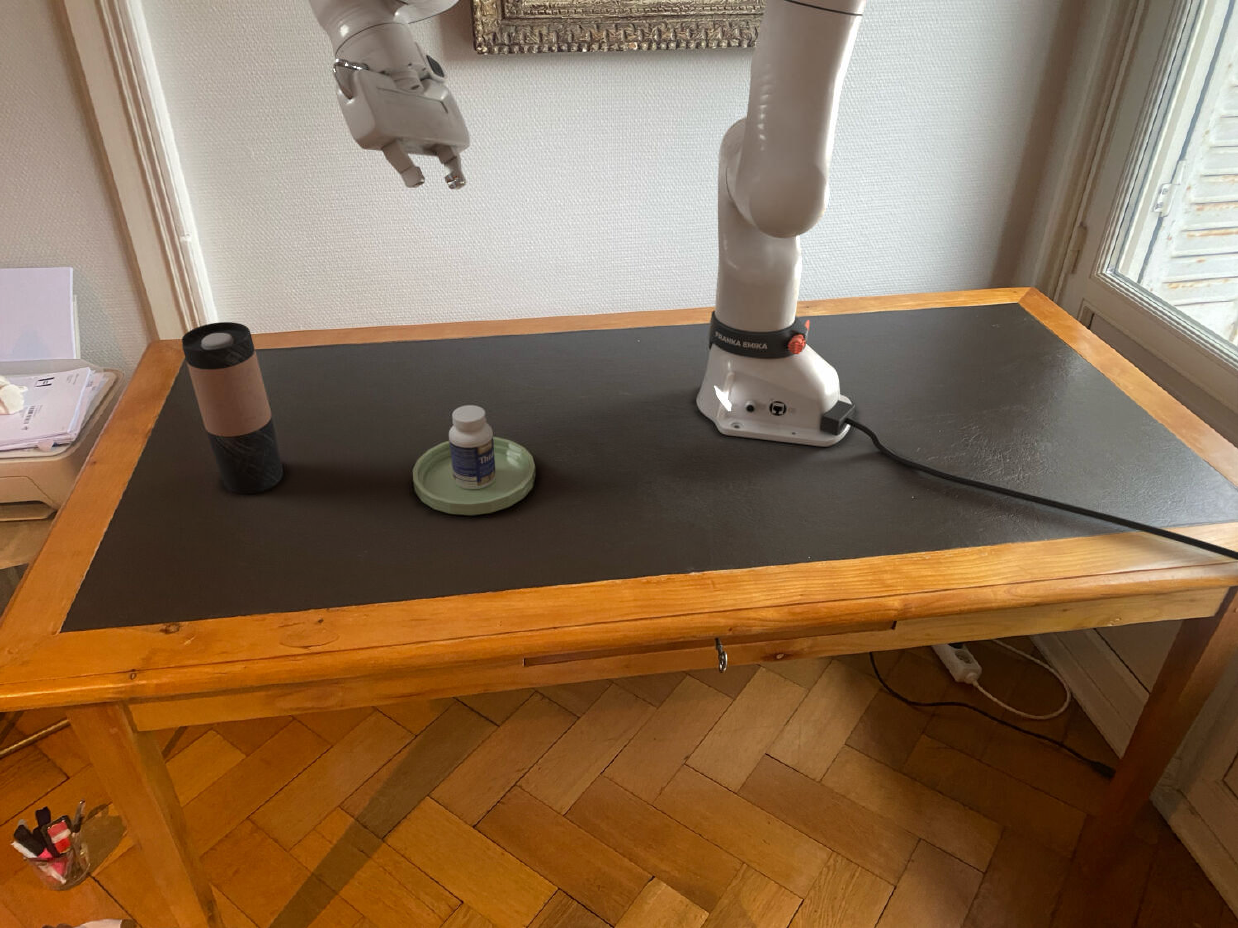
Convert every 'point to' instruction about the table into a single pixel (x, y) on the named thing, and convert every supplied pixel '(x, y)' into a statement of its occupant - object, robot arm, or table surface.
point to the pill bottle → (472, 448)
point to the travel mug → (234, 405)
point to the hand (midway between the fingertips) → (438, 186)
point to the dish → (448, 497)
